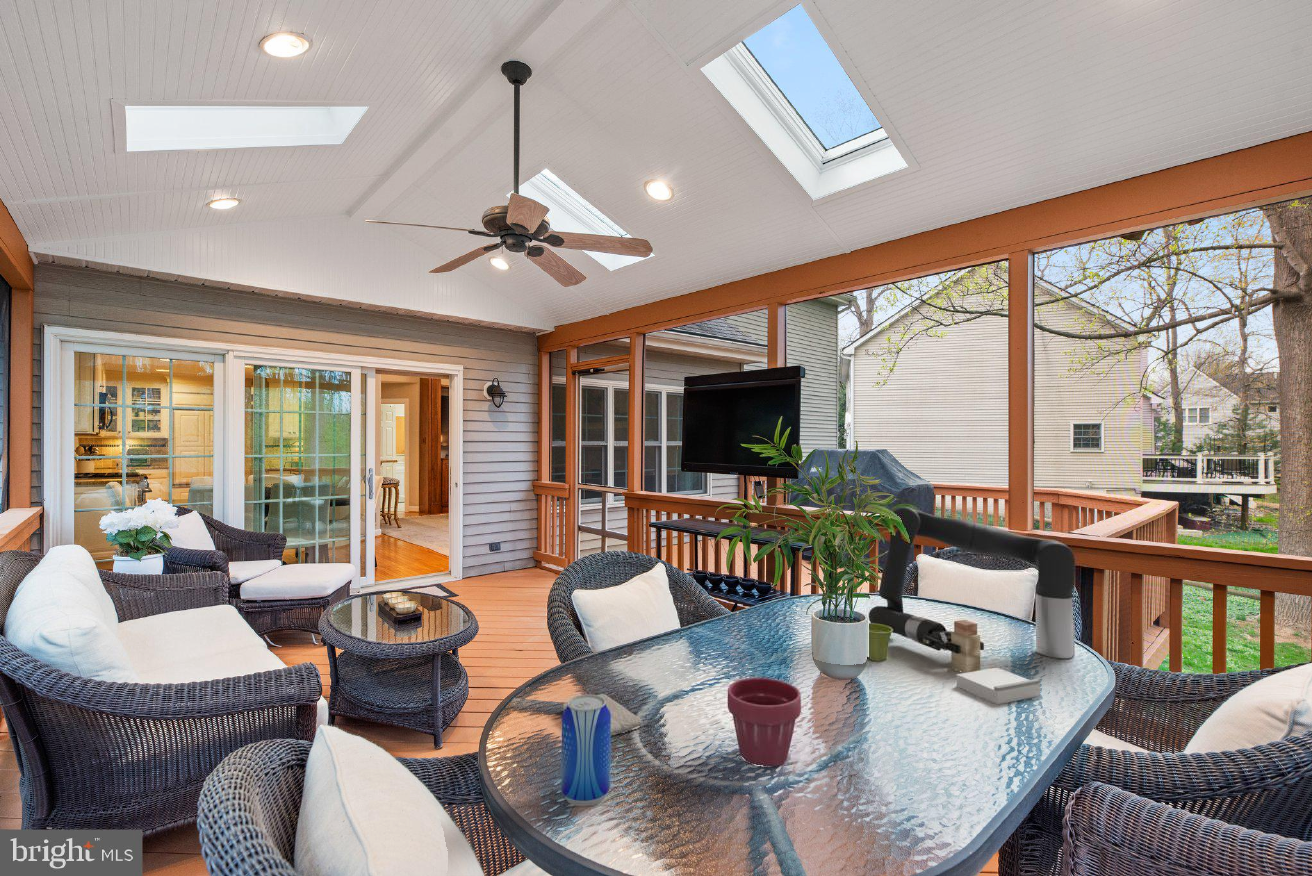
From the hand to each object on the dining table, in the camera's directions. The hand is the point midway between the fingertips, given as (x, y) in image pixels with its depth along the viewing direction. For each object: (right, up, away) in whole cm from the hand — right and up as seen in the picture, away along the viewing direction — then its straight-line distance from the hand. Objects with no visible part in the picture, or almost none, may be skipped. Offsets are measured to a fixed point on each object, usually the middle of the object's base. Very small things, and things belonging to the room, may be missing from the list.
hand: (971, 648), depth 169 cm
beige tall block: (-1, -7, +2) cm, 7 cm away
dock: (0, -6, -13) cm, 15 cm away
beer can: (-97, -5, -61) cm, 115 cm away
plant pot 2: (-22, -7, +12) cm, 26 cm away
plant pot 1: (-64, -5, -47) cm, 80 cm away
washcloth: (-98, -6, -31) cm, 103 cm away
